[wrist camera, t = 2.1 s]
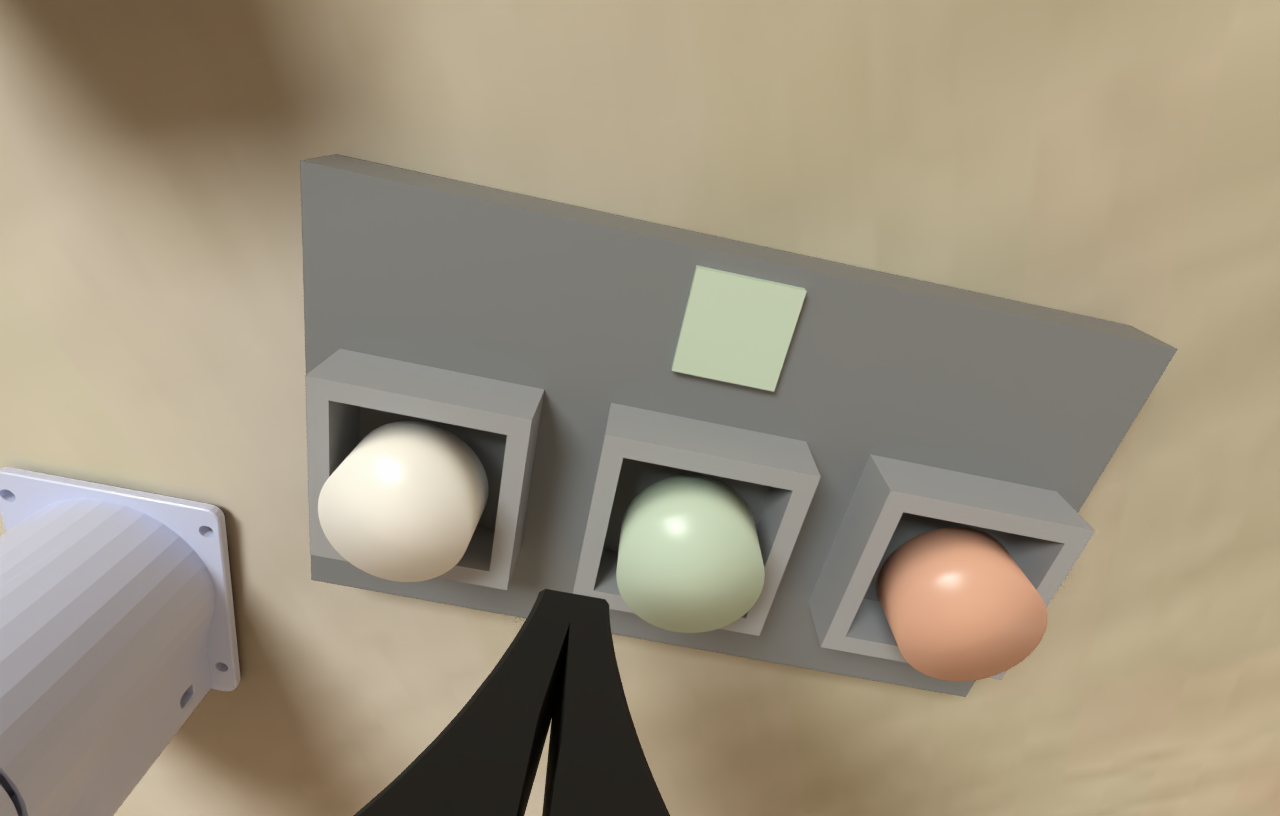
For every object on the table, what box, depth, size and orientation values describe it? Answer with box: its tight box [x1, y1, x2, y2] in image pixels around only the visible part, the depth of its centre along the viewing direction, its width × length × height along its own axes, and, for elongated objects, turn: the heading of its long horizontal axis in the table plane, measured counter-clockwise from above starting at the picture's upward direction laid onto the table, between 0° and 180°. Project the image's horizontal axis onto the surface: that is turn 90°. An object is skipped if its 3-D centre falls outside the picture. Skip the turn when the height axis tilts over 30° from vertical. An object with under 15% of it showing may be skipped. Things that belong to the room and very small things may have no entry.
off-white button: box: [318, 421, 489, 582], centre depth 18 cm, size 4×4×2 cm
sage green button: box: [616, 475, 765, 633], centre depth 18 cm, size 4×4×2 cm
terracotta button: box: [876, 527, 1048, 681], centre depth 19 cm, size 4×4×2 cm
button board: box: [300, 154, 1177, 697], centre depth 20 cm, size 14×24×4 cm, turn 78°
